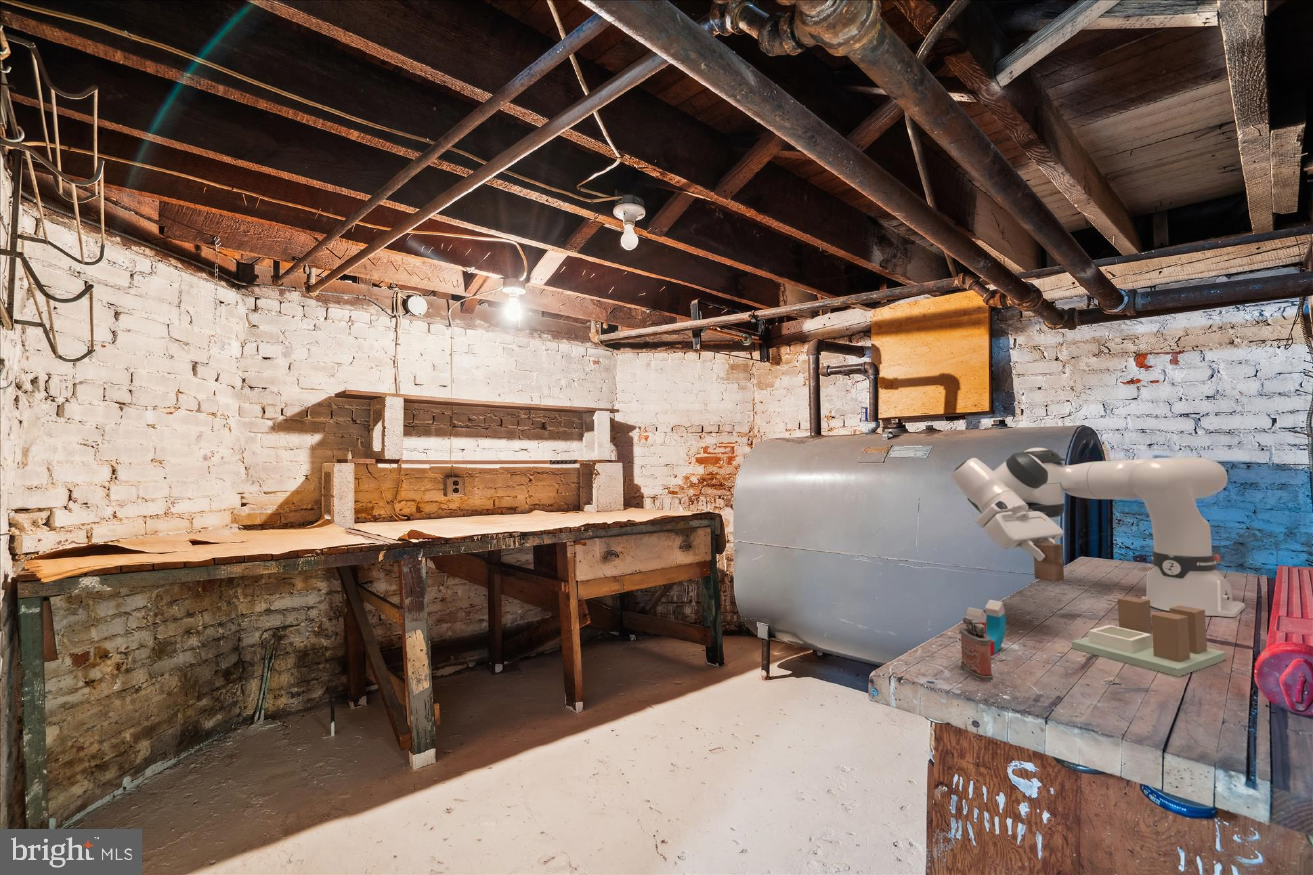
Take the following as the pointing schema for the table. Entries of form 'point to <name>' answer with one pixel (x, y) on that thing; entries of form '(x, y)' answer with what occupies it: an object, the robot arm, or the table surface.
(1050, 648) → the table surface
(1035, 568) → the leg
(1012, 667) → the table surface
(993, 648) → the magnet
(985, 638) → the lighter
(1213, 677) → the table surface
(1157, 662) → the board
